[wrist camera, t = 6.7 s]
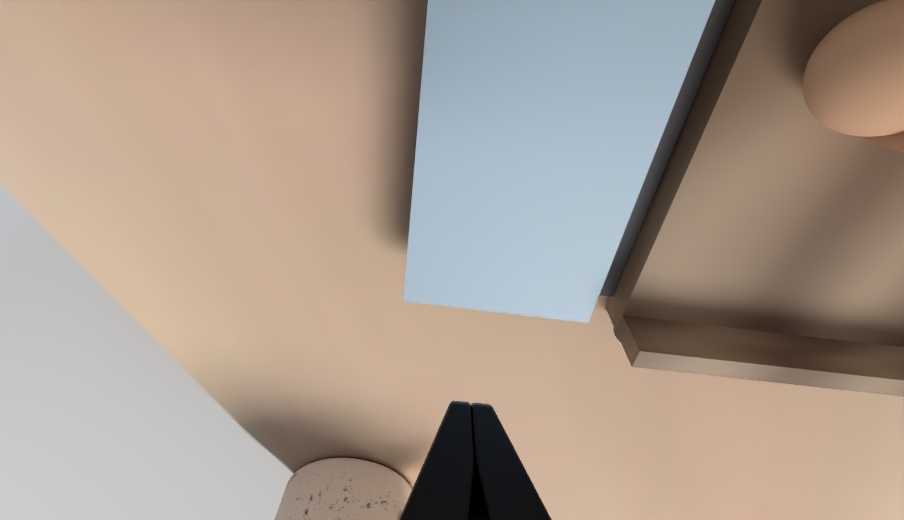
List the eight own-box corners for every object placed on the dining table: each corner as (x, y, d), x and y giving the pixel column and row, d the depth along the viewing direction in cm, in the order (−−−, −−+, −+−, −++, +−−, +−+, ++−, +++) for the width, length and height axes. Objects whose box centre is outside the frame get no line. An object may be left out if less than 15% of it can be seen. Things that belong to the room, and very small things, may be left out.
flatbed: (1223, -88, 12) (1578, -124, 8) (850, 344, 21) (936, 424, 17) (737, -173, 11) (877, -255, 7) (566, 312, 20) (590, 387, 16)
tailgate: (761, -119, 10) (442, -172, 10) (588, 323, 17) (403, 301, 17) (736, -109, 11) (444, -158, 11) (582, 306, 18) (406, 284, 18)
